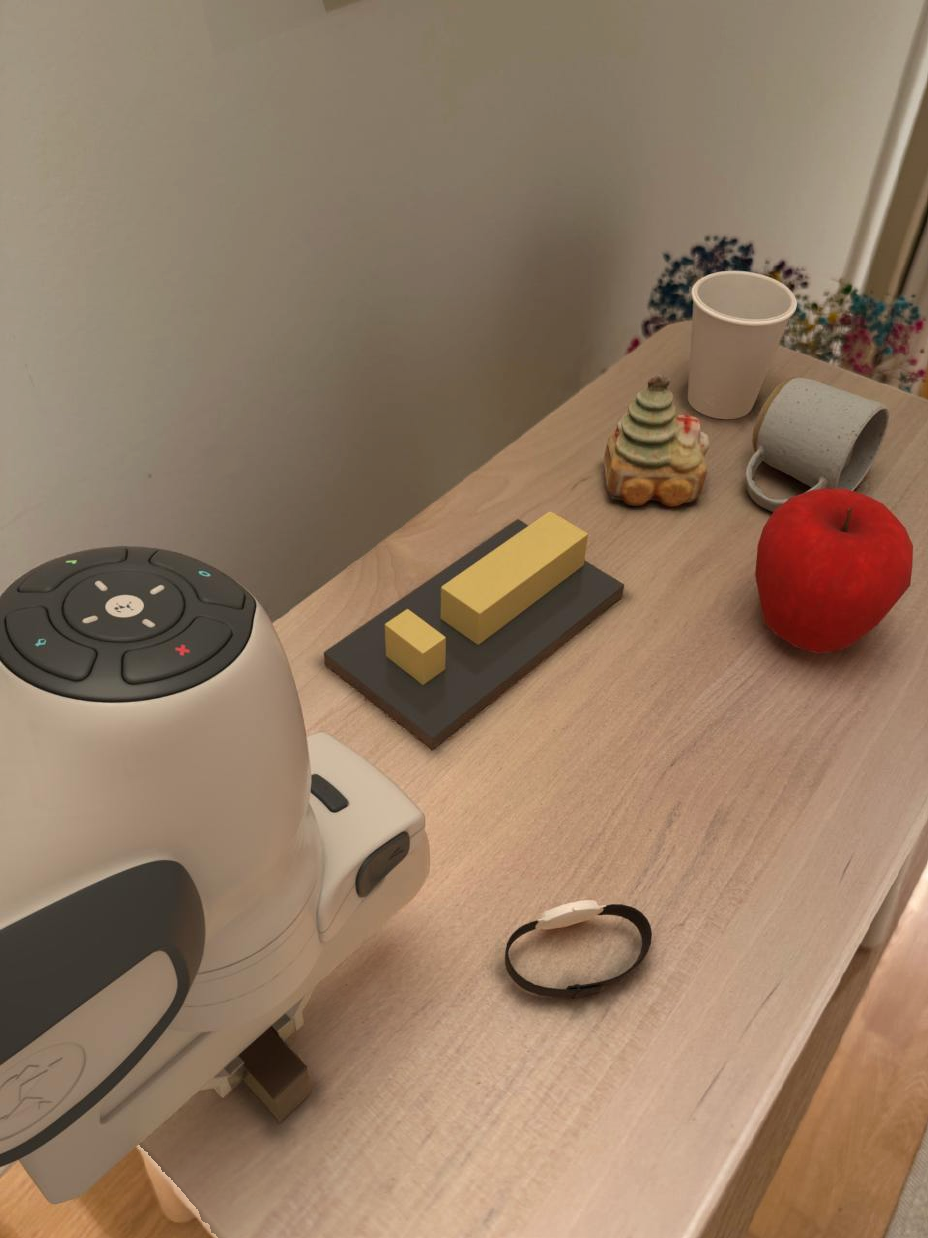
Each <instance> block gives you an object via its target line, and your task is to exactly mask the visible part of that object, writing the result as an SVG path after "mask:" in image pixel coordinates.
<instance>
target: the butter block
mask: <svg viewBox="0 0 928 1238" xmlns="http://www.w3.org/2000/svg"><path fill="white" fill-rule="evenodd" d="M588 538H589V533H588V532H586V531H585V530H583V529H581V528H580V527H578V526H576V525H575V524H573V523H571V522H569V521H568V520H566V519H564V518H563V517H561V516H560V515H558V514H557V513H555V512H553V511H551V510H549V511H547V512H546V513H545V514H543V515H542V516H540V517H539V518H537V519H536V520H535V521H533V522H531V523H530V524H528V527H526V528H525V529H523V530H522V531H520V532H519V533H518V534H516V535H515V536H513V537H512V538H510V539H509V540H507V541H506V542H505V543H503V544H502V545H500V546H499V547H497V548H496V549H495V550H493V551H492V552H490V553H489V554H487V555H486V556H485V557H483V558H482V559H480V560H479V561H477V562H476V563H475V564H473V565H472V566H470V567H469V568H467V569H466V570H464V571H463V572H462V573H460V574H459V575H457V576H456V577H454V578H453V579H452V580H450V581H449V582H447V583H446V584H444V585H443V586H442V587H441V619H442V620H443V621H445V622H446V623H447V624H449V625H450V626H452V627H453V628H454V629H456V630H457V631H459V632H460V633H461V634H463V635H464V636H466V637H467V638H469V639H470V640H471V641H473V642H474V643H476V644H477V645H479V644H481V643H482V642H483V641H484V640H486V639H487V638H488V637H490V636H491V635H492V634H494V633H495V632H496V631H498V630H499V629H500V628H502V627H503V626H504V625H506V624H507V623H508V622H510V621H511V620H512V619H513V618H515V617H516V616H517V615H519V614H520V613H521V612H523V611H524V610H525V609H527V608H528V607H529V606H531V605H532V604H533V603H535V602H536V601H537V600H539V599H540V598H541V597H542V596H544V595H545V594H546V593H548V592H549V591H550V590H552V589H553V588H554V587H556V586H557V585H558V584H560V583H561V582H562V581H564V580H565V579H566V578H568V577H569V576H570V575H572V574H573V573H574V572H575V571H577V570H578V569H579V568H581V567H582V566H583V565H584V560H585V561H586V554H587V553H586V552H587V545H588Z"/></svg>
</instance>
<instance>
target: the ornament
mask: <svg viewBox="0 0 928 1238" xmlns="http://www.w3.org/2000/svg"><path fill="white" fill-rule="evenodd" d="M670 382H671V379H670V378H669V377H666V376H664V375H662V374H657V375H655V376H654V377H652V378H650V379H648V381H647V387H645V388H644V389H642V390H640V391H638V392H637V394H636V396H635V400H634V401H632V402H631V403H630V404H629V405H628V407H627V412H626V413H625V414H623V416H622V417H621V419H620V420H619V421H618V422H617V424H616V429H615V431H614V432H613V433H612V434H610V435H609V437H608V438H607V442H606V446H605V450H604V456H603V467H604V472H605V473H604V474H605V486H606V490H607V492H608V493H609V496H610V498H611V499H612V500H619V501H620V500H621V501H623V503H624V504H626V505H628V506H631V507H632V506H633V507H638V506H639V507H640V506H643V505H645V504H647V503H648V502H649V501H654V502H655V501H656V502H659V503H660V504H661V505H662V506H663V505H664V506H666V507H670V508H672V507H673V508H674V507H678V506H680V505H683V504H685V503H691V502H693V501H695V500H696V499H697V498H698V497H699V496H700V495H701V494H702V491H703V488H704V484H705V482H706V478H707V477H706V476H707V472H708V467H707V463H706V454H707V452H708V451H709V449H710V447H711V446H710V445H711V441H710V438H709V436H708V434H706V433H705V432H703V431H702V422H701V420H700V419H698V418H697V417H696V416H693V415H690V414H688V413H687V414H677V415H676V410H677V409H676V406H675V405H674V404H673V401H674V394H673V392H671V391H670V390H669V389H668V387H669V385H670Z"/></svg>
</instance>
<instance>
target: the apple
mask: <svg viewBox="0 0 928 1238" xmlns="http://www.w3.org/2000/svg"><path fill="white" fill-rule="evenodd" d="M807 491H808V490H807ZM807 491H805V492H803V493H800V494H798V495H795V496H792V497H790V498H787V499H788V500H787V501H786V502H785V503H783V504H782V505H781V506H780V507H778V508H777V509H776V510H775V511H774V512H772V513H771V515H770V517H769V518H768V520H767V521H766V523H765V524H764V525H763V527H762V530H761V533H760V536H759V540H758V542H757V550H756V559H755V560H756V561H755V572H754V576H755V581H756V588H757V592H758V599H759V605H760V609H761V613H762V617H763V621H764V623H765V624H766V625H767V626H768V627H769V628H770V630H772V631H773V633H774V634H776V635H777V636H778V637H779V638H781V639H782V640H784V641H786V642H787V643H789V644H790V645H791V646H793V647H795V648H798V649H802V650H806V651H808V652H813V653H816V654H817V653H818V654H819V653H820V654H821V653H831V652H839V651H840V650H844V649H845V648H846V649H847V648H848V647H851V646H852V645H854V644H856V643H857V642H858V641H860V639H862V638H863V637H864V636H866V635H867V634H868V633H869V632H870V631H872V630H873V629H874V628H875V627H878V625H879V624H880V622H882V621H883V619H885V617H886V616H887V615H888V614H889V613H890V611H891V610H892V609H893V608H894V606H895V605H896V604H897V603H898V602H899V600H900V599H901V598H902V597H903V595H904V594H905V593H906V592H907V591H908V589H909V588H910V587H911V583H912V575H913V573H912V572H913V562H914V561H913V560H914V545H913V542H912V539H911V537H910V535H909V533H908V530H907V528H906V527H905V526H904V525H903V523H902V521H900V519H899V518H898V517H897V516H896V515H895V514H894V513H893V512H892V511H891V510H890V509H889V508H888V507H887V506H886V505H885V504H884V503H883V502H880V501H879V500H876V499H875V498H873V497H870V496H868V495H867V494H864V493H860V492H857V491H855V490H853V491H850V490H847V489H817V490H811V491H808V492H807Z"/></svg>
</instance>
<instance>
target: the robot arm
mask: <svg viewBox="0 0 928 1238" xmlns="http://www.w3.org/2000/svg"><path fill="white" fill-rule="evenodd" d="M296 685H297V684H296V681H295V678H294V674H293V671H292V669H291V665H290V662H289V660H288V656H287V653H286V651H285V649H284V646H283V644H282V641H281V639H280V636H279V635H278V632H277V630H276V628H275V626H274V624H273V622H272V621H271V618H270V617H269V615H268V613H267V612H266V611H265V609H264V608H263V606H262V604H261V603H260V602H259V601H258V599H257V598H256V597H255V595H253V594H252V593H251V592H250V591H249V590H248V589H247V588H245V587H244V586H243V584H241V583H240V582H238V581H237V580H235V579H233V578H232V577H231V576H229V575H227V573H224V572H222V571H221V570H219V569H217V568H216V567H214V566H213V565H210V564H208V563H207V562H204V561H202V560H199V559H197V558H195V557H192V556H189V555H186V554H183V553H181V552H176V551H172V550H168V549H163V548H157V547H150V546H140V545H116V546H115V545H114V546H103V547H95V548H89V549H84V550H83V549H82V550H78V551H73V552H70V553H66V554H64V555H60V556H57V557H54V558H52V559H50V560H47V561H44V562H42V563H40V564H38V565H36V566H34V567H32V568H31V569H29V570H27V571H26V572H24V573H22V574H21V575H19V576H18V577H16V578H15V579H14V580H13V581H12V582H11V583H9V584H8V585H7V586H6V587H5V588H4V590H2V591H1V593H0V1168H2V1167H6V1166H8V1165H10V1164H12V1163H15V1162H16V1161H18V1162H19V1163H20V1165H21V1166H22V1168H23V1169H24V1172H26V1174H27V1176H28V1177H29V1178H30V1179H31V1180H32V1182H33V1183H34V1184H35V1186H36V1187H37V1189H38V1190H39V1191H40V1193H41V1194H42V1195H43V1198H45V1199H46V1201H47V1202H48V1204H51V1205H58V1204H62V1203H66V1202H69V1201H72V1200H75V1199H78V1198H79V1197H81V1196H83V1195H84V1194H86V1193H87V1192H88V1191H89V1190H91V1189H92V1188H93V1187H94V1186H95V1185H96V1184H97V1183H98V1182H99V1181H100V1180H101V1179H103V1178H104V1177H105V1176H106V1175H107V1174H108V1173H109V1172H110V1171H111V1170H112V1169H114V1168H115V1167H116V1166H117V1165H118V1164H119V1163H120V1162H121V1161H123V1160H124V1159H125V1158H126V1157H127V1156H128V1155H129V1154H130V1153H131V1152H133V1151H134V1150H135V1149H136V1148H137V1147H138V1146H139V1145H140V1144H142V1142H143V1141H145V1140H146V1139H147V1138H148V1137H149V1136H150V1135H152V1134H153V1132H155V1131H156V1130H157V1129H158V1128H160V1126H161V1125H163V1124H164V1122H166V1121H167V1120H168V1119H169V1118H170V1117H171V1116H172V1115H173V1114H175V1113H176V1112H177V1111H178V1110H180V1108H182V1107H183V1105H185V1104H186V1103H187V1102H188V1101H189V1100H191V1099H192V1098H193V1097H194V1096H195V1095H196V1094H197V1093H198V1092H202V1091H206V1090H207V1091H208V1090H212V1089H213V1090H214V1091H215V1092H216V1093H217V1094H218V1096H219V1097H221V1098H222V1099H224V1098H225V1097H226V1096H227V1095H228V1094H229V1093H230V1092H231V1091H233V1090H234V1089H236V1088H235V1087H237V1086H238V1085H239V1084H240V1083H242V1081H244V1080H243V1079H244V1078H245V1077H246V1076H247V1073H246V1071H245V1070H246V1069H245V1063H244V1062H243V1061H242V1059H241V1058H240V1057H239V1056H238V1055H239V1054H240V1053H241V1052H243V1051H244V1050H245V1049H246V1048H247V1047H248V1046H249V1045H250V1044H251V1043H253V1042H254V1041H255V1040H256V1039H257V1038H258V1037H259V1036H260V1035H261V1034H263V1033H264V1032H265V1031H266V1030H267V1029H268V1028H269V1027H271V1028H272V1029H273V1030H274V1031H275V1033H276V1034H277V1035H278V1036H280V1037H281V1039H282V1040H283V1041H284V1042H285V1041H287V1039H289V1038H290V1037H291V1036H292V1035H293V1034H294V1033H296V1032H298V1030H299V1029H301V1027H302V1026H303V1025H304V1024H305V1021H304V1020H305V1019H304V1015H303V1010H305V1008H306V1006H307V1004H308V1002H309V1000H310V998H311V996H312V994H313V992H314V990H315V989H316V987H317V986H318V985H319V984H320V983H321V982H322V981H323V980H324V979H325V978H326V977H327V976H329V974H331V973H332V972H333V971H334V970H335V969H336V968H337V967H339V966H340V965H341V964H342V963H343V962H344V961H345V960H346V959H347V958H349V956H351V955H352V954H353V953H355V952H356V950H357V949H358V948H360V947H361V946H362V945H363V944H364V943H365V942H366V941H367V940H369V939H370V938H371V937H372V936H373V935H374V934H375V933H377V931H379V930H380V929H381V928H382V927H383V926H384V925H386V924H387V923H388V922H389V921H390V920H391V919H392V918H393V917H394V916H395V915H397V914H398V912H400V911H401V910H402V909H403V908H404V907H406V906H407V905H408V904H409V903H410V902H411V901H413V900H414V898H415V897H416V896H417V895H418V894H419V892H420V891H421V889H422V888H423V886H424V885H425V883H426V881H427V880H428V877H429V875H430V871H431V848H430V841H429V837H428V834H427V832H426V816H425V813H424V811H422V810H421V808H420V807H418V805H417V803H416V802H414V800H412V798H410V796H409V795H408V794H407V793H406V792H405V791H404V790H403V789H402V787H400V786H399V785H398V784H397V783H395V782H394V780H392V779H391V777H389V776H388V775H386V774H385V772H384V771H382V770H381V769H380V768H379V767H377V766H376V765H375V764H374V763H372V762H371V760H369V759H367V758H366V757H365V756H364V755H362V754H360V753H359V752H358V751H357V750H356V749H354V748H352V746H350V745H348V744H346V743H345V742H343V741H342V740H340V739H339V738H337V737H336V736H334V735H333V734H331V733H329V732H326V731H320V732H316V733H312V734H310V735H307V729H306V725H305V719H304V718H305V717H304V714H303V710H302V705H301V701H300V696H299V693H298V689H297V686H296Z"/></svg>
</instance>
